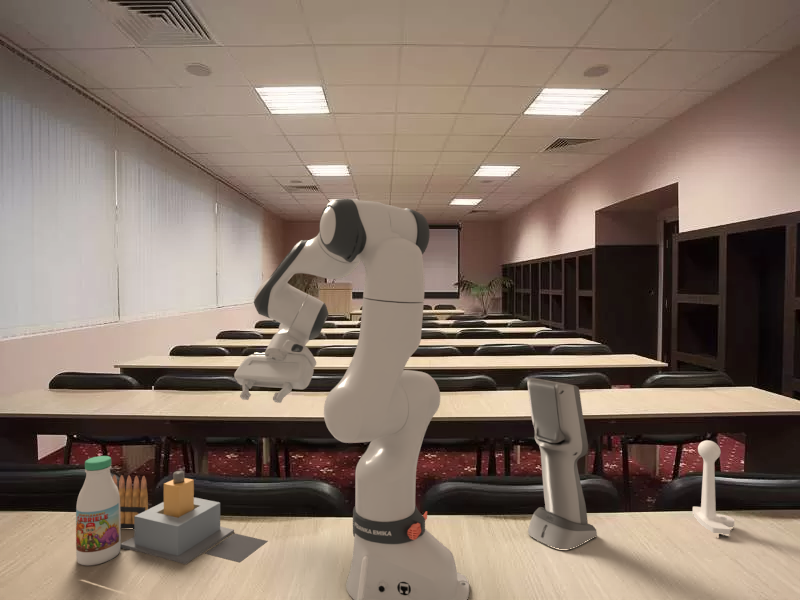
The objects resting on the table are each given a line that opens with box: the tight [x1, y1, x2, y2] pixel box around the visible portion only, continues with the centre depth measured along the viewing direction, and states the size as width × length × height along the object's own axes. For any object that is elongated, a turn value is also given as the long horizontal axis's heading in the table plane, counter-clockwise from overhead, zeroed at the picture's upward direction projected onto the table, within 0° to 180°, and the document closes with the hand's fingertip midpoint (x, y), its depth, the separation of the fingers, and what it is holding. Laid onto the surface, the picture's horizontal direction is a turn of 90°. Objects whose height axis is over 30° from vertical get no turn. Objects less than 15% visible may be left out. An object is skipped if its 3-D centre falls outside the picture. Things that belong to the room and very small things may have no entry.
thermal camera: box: [527, 377, 598, 549], centre depth 109 cm, size 12×13×35 cm
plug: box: [163, 470, 195, 518], centre depth 107 cm, size 4×4×14 cm
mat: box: [203, 532, 269, 563], centre depth 103 cm, size 9×9×1 cm
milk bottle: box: [75, 455, 122, 566], centre depth 100 cm, size 8×8×20 cm
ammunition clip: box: [112, 474, 150, 530], centre depth 112 cm, size 11×2×12 cm, turn 86°
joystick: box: [692, 439, 735, 535], centre depth 113 cm, size 11×8×20 cm
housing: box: [120, 497, 235, 565], centre depth 107 cm, size 18×14×7 cm
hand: (259, 399), depth 117 cm, fingers open, 8 cm apart
